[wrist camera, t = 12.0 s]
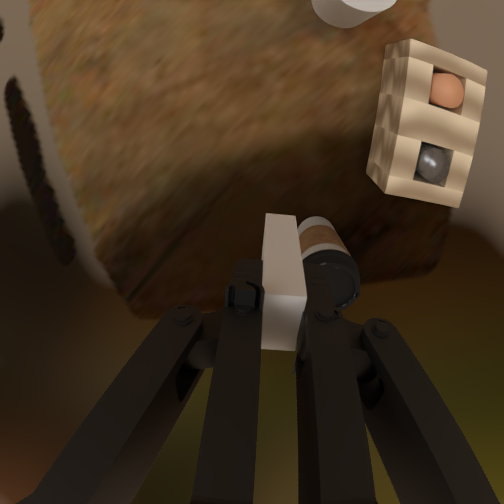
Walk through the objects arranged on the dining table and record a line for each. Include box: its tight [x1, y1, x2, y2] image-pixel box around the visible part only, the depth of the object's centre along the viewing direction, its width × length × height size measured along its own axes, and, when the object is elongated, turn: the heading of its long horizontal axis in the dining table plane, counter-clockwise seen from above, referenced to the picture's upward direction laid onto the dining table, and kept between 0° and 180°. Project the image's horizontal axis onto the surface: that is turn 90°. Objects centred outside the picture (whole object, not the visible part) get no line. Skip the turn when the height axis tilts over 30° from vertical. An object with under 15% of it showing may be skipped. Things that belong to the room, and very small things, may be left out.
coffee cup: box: [298, 216, 360, 311], centre depth 43 cm, size 8×8×15 cm
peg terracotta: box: [428, 73, 464, 108], centre depth 32 cm, size 4×4×9 cm
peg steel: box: [415, 141, 450, 183], centre depth 37 cm, size 4×4×9 cm
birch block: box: [366, 39, 487, 208], centre depth 35 cm, size 20×12×9 cm, turn 175°
